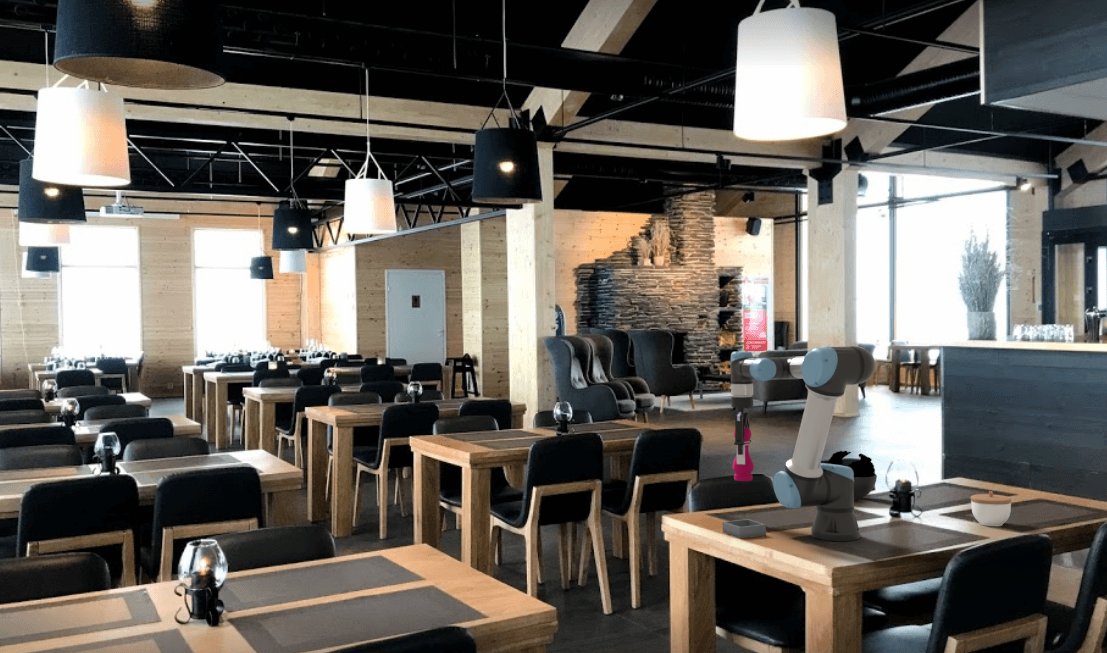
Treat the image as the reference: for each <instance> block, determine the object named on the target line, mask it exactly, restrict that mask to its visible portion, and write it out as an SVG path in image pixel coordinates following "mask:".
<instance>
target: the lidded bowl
mask: <svg viewBox="0 0 1107 653" xmlns="http://www.w3.org/2000/svg"><path fill="white" fill-rule="evenodd" d="M970 506H971V512H972V515H973V517H974V518H975V520H976V521H978V523H979V525H982V526H985V527H986V526H987V527H1002V526H1003V524H1005V523H1006V522H1007V521H1008V519H1009V518H1010V515H1011V510H1012V509H1011V508H1012V497H1010V496H1006V495H1001V494H994V492H993V491H988V493H981V494H980V493H978V494H973V495H971V496H970Z"/></svg>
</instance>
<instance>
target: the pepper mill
mask: <svg viewBox="0 0 1107 653" xmlns="http://www.w3.org/2000/svg"><path fill="white" fill-rule="evenodd" d="M733 436H734V438H735V430H734V432H733ZM751 438H752V431H751V429H749V428H747V427H745V434H744V445H745V464H737V454H736V455H735V457H734V460H733V463H732V470H733V472H734V473H735V474H733V479H734V481H738V482H751V481H753V474H752V472H753V471H754V468H755V466H754V463H753V462H754V461H753V460H752V457H751V456H750V445H751V442H750V441H749V439H750V440H751Z"/></svg>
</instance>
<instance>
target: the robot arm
mask: <svg viewBox="0 0 1107 653" xmlns="http://www.w3.org/2000/svg"><path fill="white" fill-rule="evenodd" d="M729 364H730V386H729V389H730V391H731V393H730V394H731V399H730V402H731V403H730V406H731V407H732V408H735V409H737V410H736V413H735V414H734V421H735V422H734V425H735V426H734V431H735V437H734V439H735V441H734V444H733V445H734V446H736V455H737V464H745V445H744V434H745V427H747V428H749V429H750V426H751V424H750V415H751V413H750V411H749V410H748V409H751V408H753V407H754V397H753V396H754V382H753V381H759V382H763V381H764V382H765V381H771V380H772V381H773V380H799V379H800V380H801V379H803V381H804V383H805V388H806V389H807V391H808V394H807V398H806V402H805V406H804V411H803V414H802V418H801V421H800V422H801V423H800V426H799V431H798V435H797V438H796V443H795V447H794V450H793V454H792V458H789V459H787V461H785V465H784V469H783V470H780V471H777V473H775V474H774V477H773V490H774V493H775V496H776V498H777V500H778V502H779V503H780V504H781V505H782V507H784V508H787V509H800V508H807V507H816V513H815V515H814V518H813V523H812V526H811V529H810V536H811V537H813V538H816V539H817V540H822V541H829V542H830V541H831V542H850V541H856V540H858V539H860V538H861V530H860V528H859V524H858V521H857V517H856V515H855V500H854V475H853V470H852V469H851V468H850V467H847V466H848V465H846V466H845V465H844V466H842V465H835V464H827V463H824V462H821V461H822V459H823V455H824V451H825V447H826V443H827V440H828V436H829V432H830V427H831V424H832V420H833V416H834V412H835V409H836V405H837V401H838V399H839V398H842V397H843V396H844V394H845V391H846V388H847V386H849V385H850V386H852V385H859V384H860V385H861V384H863V383H865V382H867V381H869V380H870V379H871V377H872V376H873V375H874V373H875V371H876V361H875V358H874V356H873V354H872V353H871V352H870V351H869V350H867V349H866V348H863V347H861V346H855V345H854V346H851V345H850V346H828V345H827V346H820V347H814V348H812V349H811V350H809V351H808V352H807V353H806V354H805V355H803V356H801V355H800V356H781V357H777V356H776V357H754V356H753V352H752V351H732V352H731V354H730V363H729ZM750 430H751V429H750ZM749 441H750V443H752V440H751V438H750V439H749Z"/></svg>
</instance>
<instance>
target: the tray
mask: <svg viewBox="0 0 1107 653" xmlns="http://www.w3.org/2000/svg"><path fill="white" fill-rule="evenodd" d="M766 528H767V526H766V524H765V523H762V522H759V521H755V520H754V519H753V520H752V519H749V518H745V519H735V520H729V521H727V520H726V521H722V533H723V532H724V533H723V534H726V533H727V534H726V535H730V536H731V535H732V537H734V536H735V538H738V539H745V538H755V537H763V536H767V535H766V534H767V529H766Z"/></svg>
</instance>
